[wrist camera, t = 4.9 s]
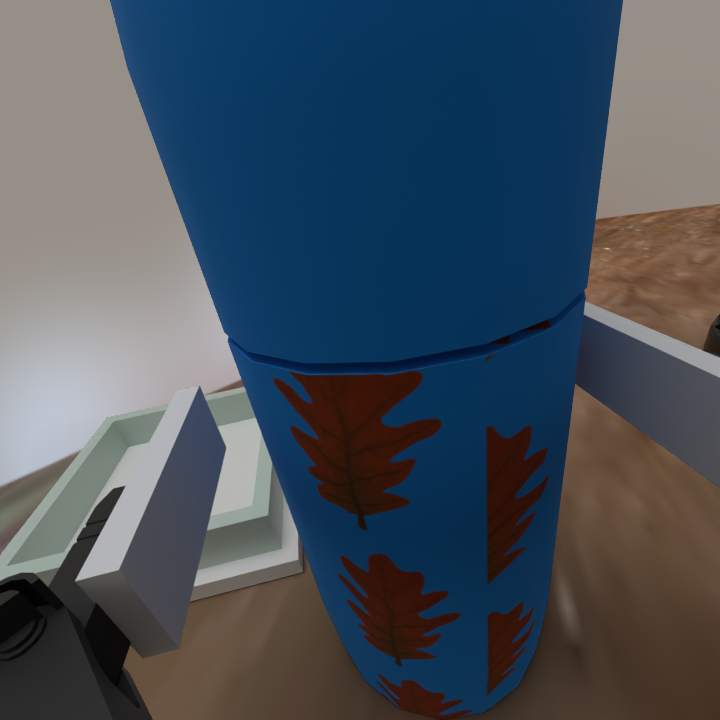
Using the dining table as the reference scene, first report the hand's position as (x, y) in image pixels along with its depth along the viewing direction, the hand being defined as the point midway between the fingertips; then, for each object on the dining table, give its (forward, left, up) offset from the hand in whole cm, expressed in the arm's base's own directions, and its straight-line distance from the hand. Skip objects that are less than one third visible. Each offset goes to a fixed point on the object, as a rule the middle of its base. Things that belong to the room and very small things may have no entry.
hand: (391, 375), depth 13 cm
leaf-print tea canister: (-1, 0, -14) cm, 14 cm away
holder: (+15, -12, -14) cm, 24 cm away
